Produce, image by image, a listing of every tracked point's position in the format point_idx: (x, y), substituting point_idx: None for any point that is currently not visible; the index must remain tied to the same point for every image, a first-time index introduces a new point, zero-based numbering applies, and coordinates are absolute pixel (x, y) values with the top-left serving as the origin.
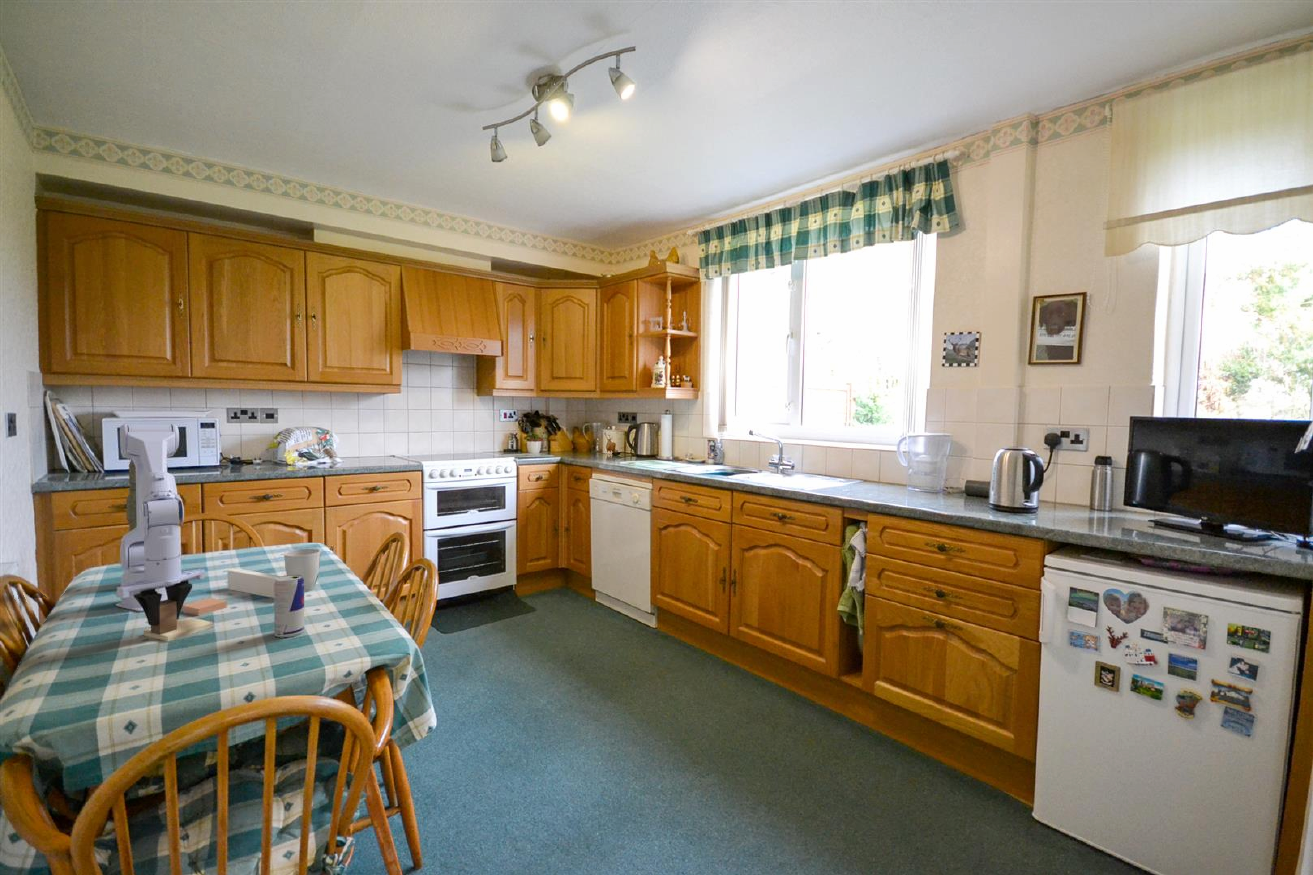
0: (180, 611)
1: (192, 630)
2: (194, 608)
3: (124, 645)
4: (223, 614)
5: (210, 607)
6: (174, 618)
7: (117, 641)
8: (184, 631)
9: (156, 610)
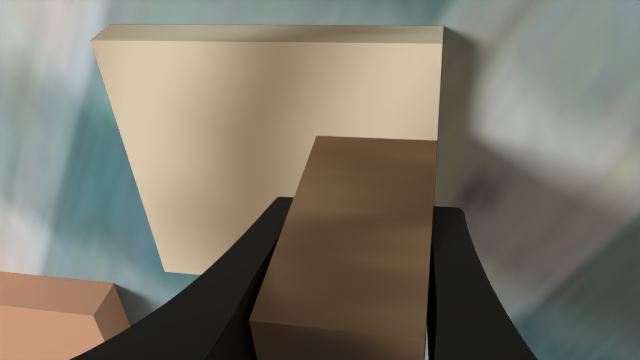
0: (247, 230)
1: (250, 36)
2: (105, 340)
3: (602, 217)
4: (6, 190)
5: (37, 299)
6: (312, 197)
7: (557, 304)
8: (308, 42)
9: (465, 301)
